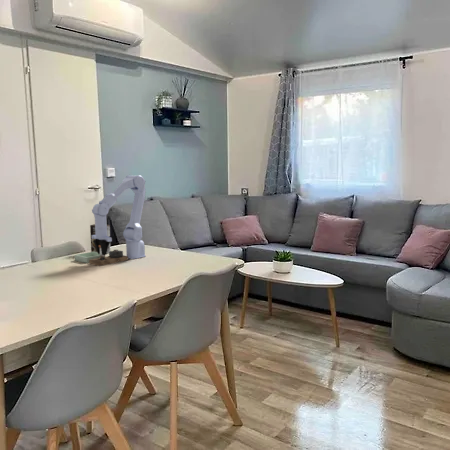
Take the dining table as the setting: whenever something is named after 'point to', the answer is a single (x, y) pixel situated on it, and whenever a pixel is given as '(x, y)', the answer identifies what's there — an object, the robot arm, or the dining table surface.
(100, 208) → the robot arm
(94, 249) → the coffee box
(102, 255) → the lock pin
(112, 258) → the tensioner board
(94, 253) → the tray
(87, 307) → the dining table surface
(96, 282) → the dining table surface
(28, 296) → the dining table surface
